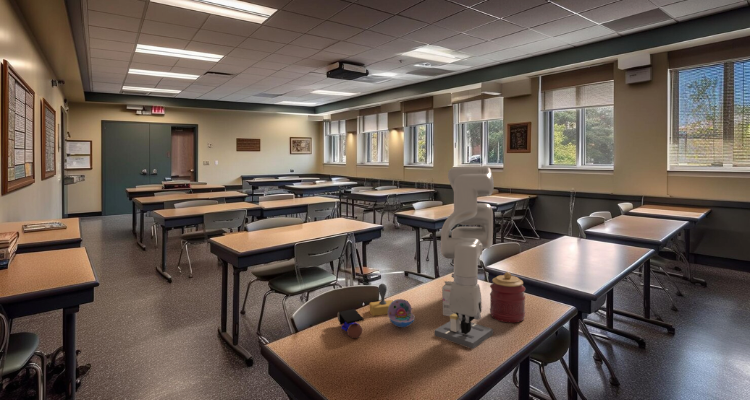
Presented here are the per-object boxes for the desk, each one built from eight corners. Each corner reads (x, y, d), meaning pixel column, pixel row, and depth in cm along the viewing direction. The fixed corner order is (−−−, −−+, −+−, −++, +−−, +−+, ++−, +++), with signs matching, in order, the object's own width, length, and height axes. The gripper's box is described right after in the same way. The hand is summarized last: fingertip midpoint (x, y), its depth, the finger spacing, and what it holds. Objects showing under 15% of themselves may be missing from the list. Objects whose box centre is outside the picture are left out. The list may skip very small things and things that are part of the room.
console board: (434, 335, 136) (434, 329, 135) (455, 322, 146) (455, 317, 145) (473, 349, 125) (473, 342, 125) (492, 334, 135) (493, 328, 135)
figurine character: (336, 329, 146) (347, 342, 132) (335, 309, 146) (346, 319, 132) (353, 326, 148) (366, 338, 134) (352, 306, 148) (365, 316, 134)
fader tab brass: (449, 330, 134) (449, 315, 133) (453, 328, 135) (453, 313, 135) (456, 332, 132) (456, 317, 131) (460, 330, 134) (460, 315, 133)
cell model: (395, 334, 137) (394, 308, 136) (383, 321, 149) (383, 297, 148) (420, 330, 140) (420, 304, 139) (407, 317, 152) (407, 293, 151)
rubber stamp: (392, 308, 162) (392, 280, 160) (396, 313, 156) (396, 284, 155) (369, 311, 159) (368, 282, 158) (372, 316, 154) (372, 287, 152)
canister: (482, 314, 153) (483, 270, 151) (506, 307, 159) (506, 266, 157) (507, 326, 142) (508, 279, 140) (532, 318, 148) (533, 273, 146)
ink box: (468, 310, 157) (468, 278, 155) (464, 318, 149) (464, 285, 148) (447, 308, 160) (447, 276, 159) (442, 315, 153) (442, 282, 152)
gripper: (440, 278, 131) (440, 329, 133) (481, 287, 121) (480, 343, 123) (452, 273, 137) (452, 322, 139) (492, 281, 127) (491, 334, 128)
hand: (465, 332), depth 131 cm, fingers closed
